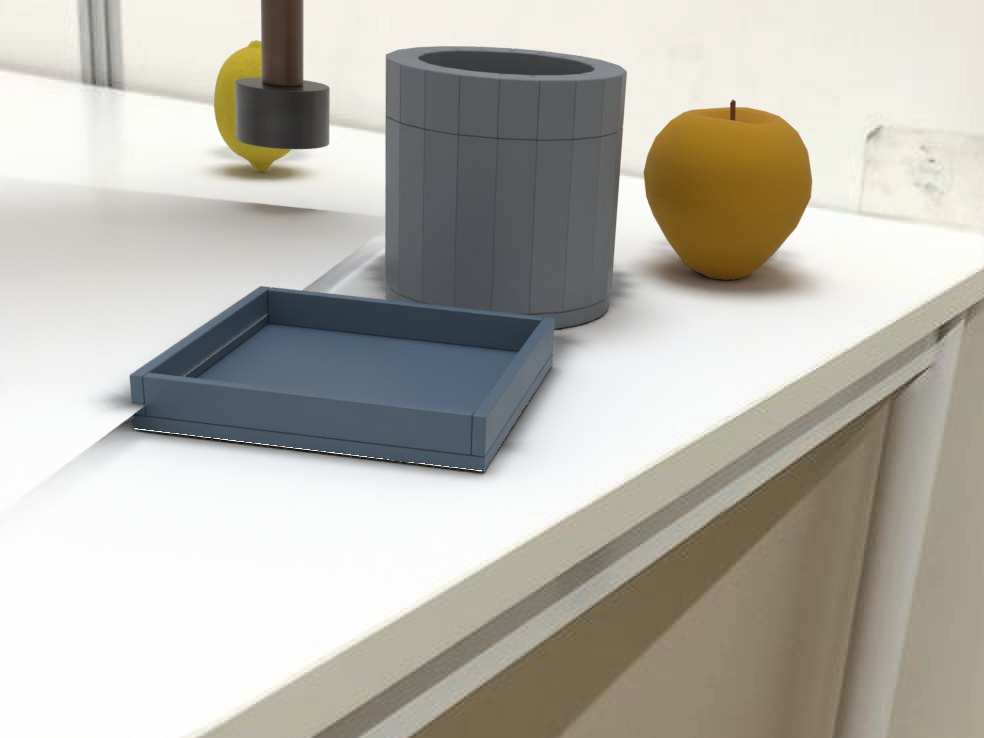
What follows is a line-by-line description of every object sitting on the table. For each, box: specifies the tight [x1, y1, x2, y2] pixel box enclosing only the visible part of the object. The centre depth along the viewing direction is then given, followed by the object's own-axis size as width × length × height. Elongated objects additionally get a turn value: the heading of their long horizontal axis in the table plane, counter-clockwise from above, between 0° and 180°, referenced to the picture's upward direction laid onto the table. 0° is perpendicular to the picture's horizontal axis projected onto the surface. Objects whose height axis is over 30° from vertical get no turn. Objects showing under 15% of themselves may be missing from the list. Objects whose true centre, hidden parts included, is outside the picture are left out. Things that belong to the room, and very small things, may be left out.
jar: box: [384, 45, 628, 330], centre depth 71 cm, size 11×11×11 cm
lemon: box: [213, 39, 292, 172], centre depth 95 cm, size 6×6×8 cm
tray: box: [129, 285, 555, 471], centre depth 59 cm, size 13×13×2 cm
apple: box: [643, 99, 813, 281], centre depth 79 cm, size 9×9×9 cm
